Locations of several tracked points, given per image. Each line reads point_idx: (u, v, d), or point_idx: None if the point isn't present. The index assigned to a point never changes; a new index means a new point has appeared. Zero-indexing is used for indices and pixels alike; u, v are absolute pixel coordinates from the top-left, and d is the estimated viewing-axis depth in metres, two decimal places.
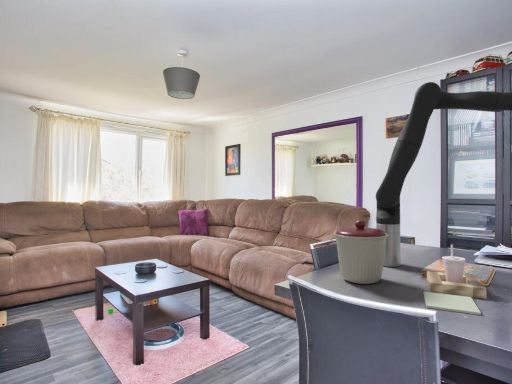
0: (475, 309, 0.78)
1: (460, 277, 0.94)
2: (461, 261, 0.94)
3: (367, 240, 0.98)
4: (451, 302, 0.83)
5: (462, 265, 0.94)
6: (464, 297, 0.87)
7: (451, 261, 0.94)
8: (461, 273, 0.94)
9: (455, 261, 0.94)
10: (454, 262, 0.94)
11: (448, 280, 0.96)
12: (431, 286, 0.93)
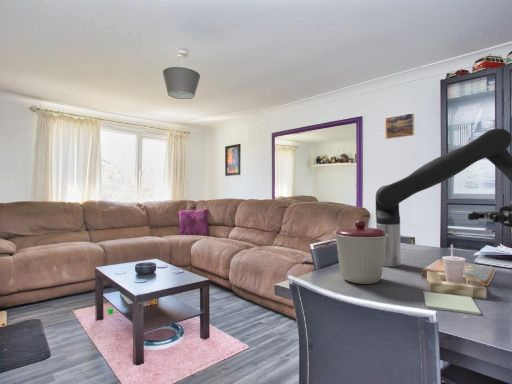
0: (475, 309, 0.78)
1: (460, 277, 0.94)
2: (461, 261, 0.94)
3: (367, 240, 0.98)
4: (451, 302, 0.83)
5: (462, 265, 0.94)
6: (464, 297, 0.87)
7: (451, 261, 0.94)
8: (461, 273, 0.94)
9: (455, 261, 0.94)
10: (454, 262, 0.94)
11: (448, 280, 0.96)
12: (431, 286, 0.93)
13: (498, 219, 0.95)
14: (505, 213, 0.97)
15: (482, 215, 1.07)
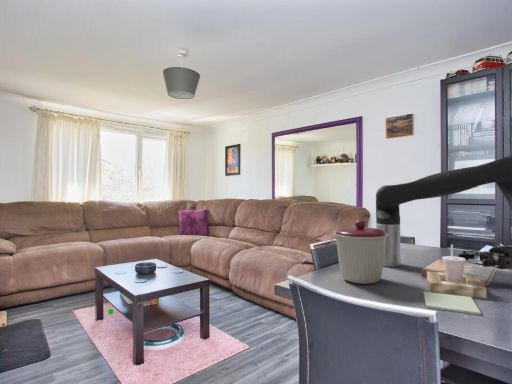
0: (475, 309, 0.78)
1: (460, 277, 0.94)
2: (461, 261, 0.94)
3: (367, 240, 0.98)
4: (451, 302, 0.83)
5: (462, 265, 0.94)
6: (464, 297, 0.87)
7: (451, 261, 0.94)
8: (461, 273, 0.94)
9: (455, 261, 0.94)
10: (454, 262, 0.94)
11: (448, 280, 0.96)
12: (431, 286, 0.93)
13: (487, 264, 0.94)
14: (495, 256, 0.97)
15: (472, 255, 1.06)
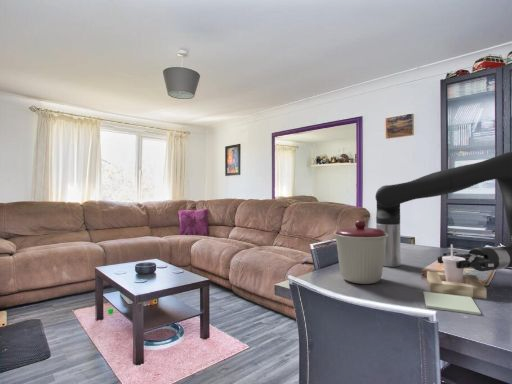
0: (475, 309, 0.78)
1: (460, 277, 0.94)
2: None
3: (367, 240, 0.98)
4: (451, 302, 0.83)
5: None
6: (464, 297, 0.87)
7: (451, 261, 0.94)
8: (461, 273, 0.94)
9: (455, 261, 0.94)
10: (454, 262, 0.94)
11: (448, 280, 0.96)
12: (431, 286, 0.93)
13: (461, 265, 0.92)
14: (471, 258, 0.95)
15: None
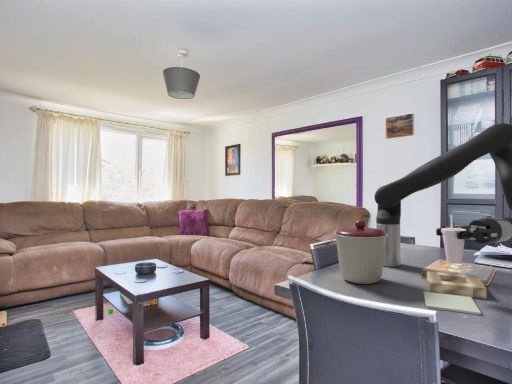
0: (475, 309, 0.78)
1: (461, 249, 0.87)
2: None
3: (367, 240, 0.98)
4: (451, 302, 0.83)
5: None
6: (464, 297, 0.87)
7: (451, 232, 0.87)
8: (462, 245, 0.87)
9: (455, 231, 0.87)
10: (454, 233, 0.87)
11: (448, 253, 0.89)
12: (431, 286, 0.93)
13: (462, 236, 0.85)
14: (472, 228, 0.88)
15: None
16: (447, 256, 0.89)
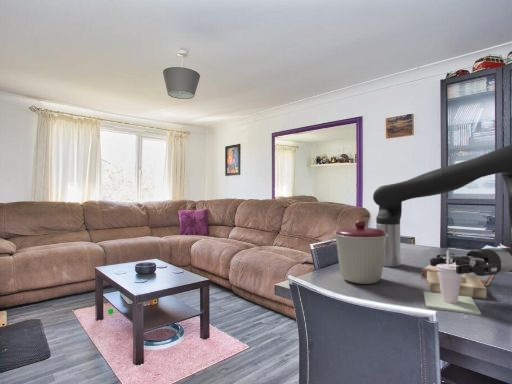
0: (475, 309, 0.78)
1: (457, 288, 0.82)
2: None
3: (367, 240, 0.98)
4: None
5: (459, 275, 0.82)
6: (464, 297, 0.87)
7: (447, 270, 0.82)
8: (458, 284, 0.82)
9: (451, 270, 0.82)
10: (450, 271, 0.82)
11: (443, 291, 0.84)
12: (431, 286, 0.93)
13: (462, 270, 0.79)
14: (471, 262, 0.82)
15: None
16: (442, 294, 0.85)
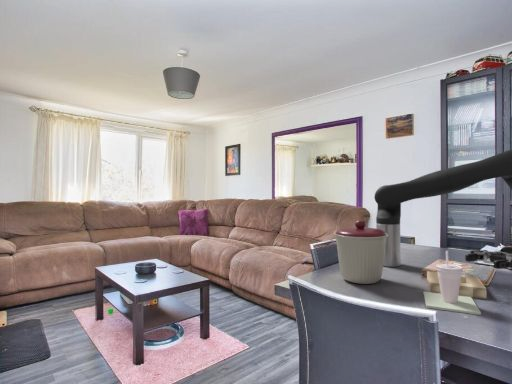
0: (475, 309, 0.78)
1: (457, 288, 0.82)
2: (457, 270, 0.82)
3: (367, 240, 0.98)
4: None
5: (459, 274, 0.82)
6: (464, 297, 0.87)
7: (446, 270, 0.82)
8: (458, 284, 0.82)
9: (451, 270, 0.82)
10: (449, 271, 0.82)
11: (443, 291, 0.84)
12: (431, 286, 0.93)
13: (500, 265, 0.83)
14: (508, 257, 0.85)
15: (481, 255, 0.95)
16: (442, 295, 0.85)
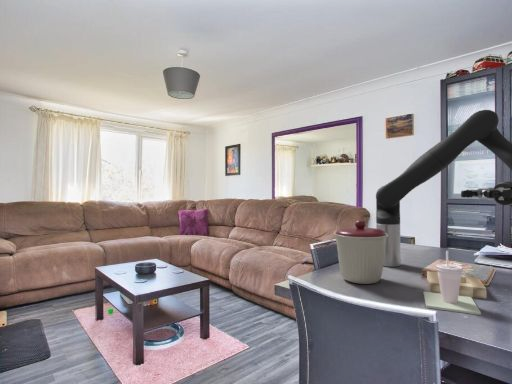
0: (475, 309, 0.78)
1: (457, 288, 0.82)
2: (458, 270, 0.82)
3: (367, 240, 0.98)
4: None
5: (459, 274, 0.82)
6: (464, 297, 0.87)
7: (446, 270, 0.82)
8: (458, 284, 0.82)
9: (451, 270, 0.82)
10: (450, 271, 0.82)
11: (443, 292, 0.84)
12: (431, 286, 0.93)
13: (492, 194, 0.89)
14: (500, 189, 0.92)
15: (476, 193, 1.01)
16: (442, 295, 0.85)
